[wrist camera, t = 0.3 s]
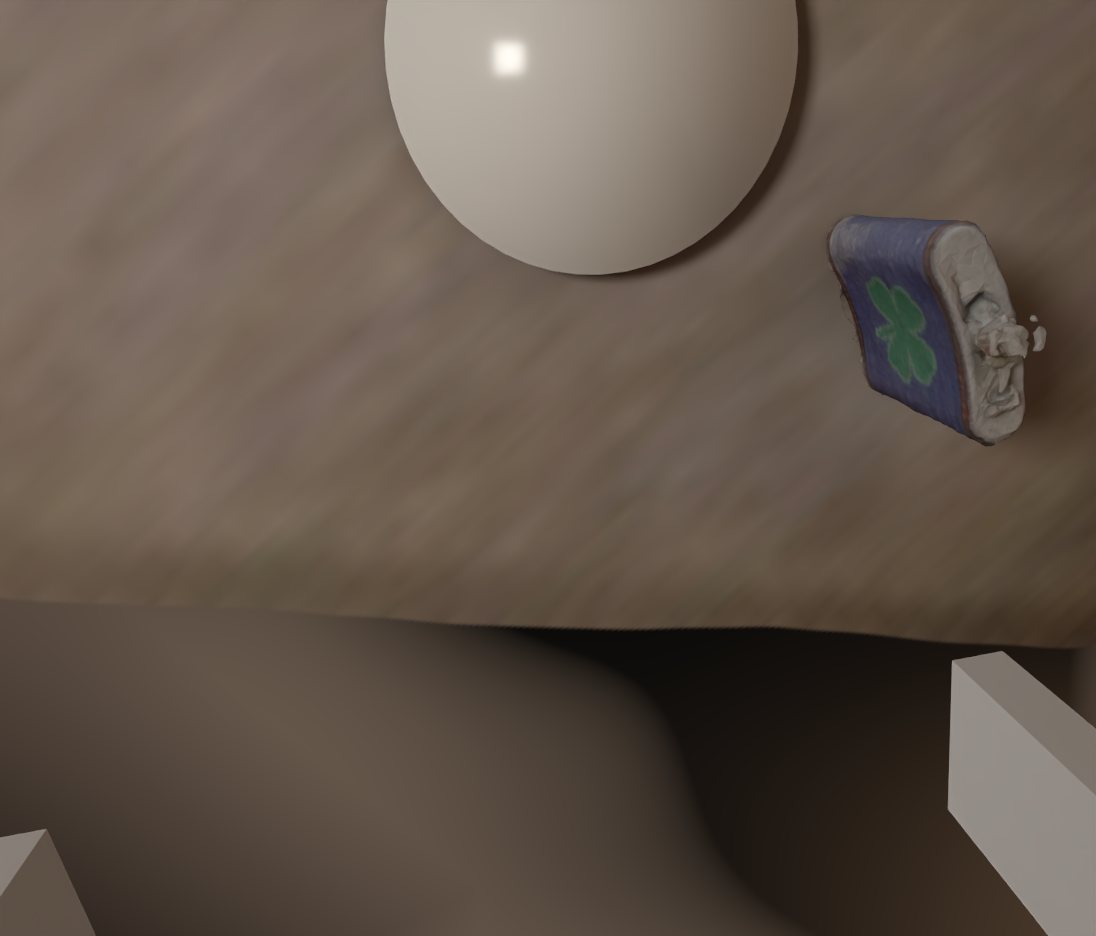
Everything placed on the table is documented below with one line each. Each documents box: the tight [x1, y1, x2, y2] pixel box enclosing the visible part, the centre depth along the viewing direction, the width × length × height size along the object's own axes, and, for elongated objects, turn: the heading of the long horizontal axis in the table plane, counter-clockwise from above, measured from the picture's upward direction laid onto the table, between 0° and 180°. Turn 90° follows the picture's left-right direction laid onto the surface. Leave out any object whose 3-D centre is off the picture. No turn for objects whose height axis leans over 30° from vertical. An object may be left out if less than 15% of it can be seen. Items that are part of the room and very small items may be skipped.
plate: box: [384, 0, 798, 275], centre depth 32 cm, size 17×17×1 cm
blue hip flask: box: [827, 214, 1046, 446], centre depth 32 cm, size 9×3×11 cm, turn 24°
